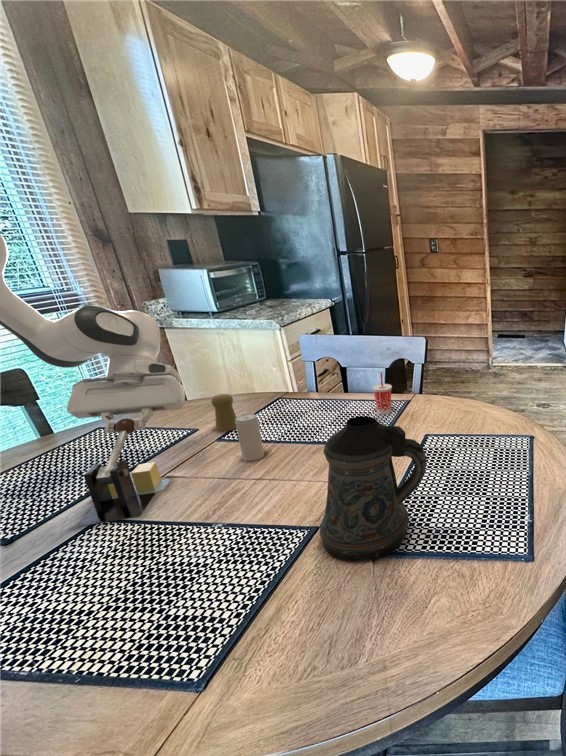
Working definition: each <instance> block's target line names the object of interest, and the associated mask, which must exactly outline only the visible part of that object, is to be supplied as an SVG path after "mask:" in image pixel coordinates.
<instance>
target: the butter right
mask: <svg viewBox="0 0 566 756" xmlns="http://www.w3.org/2000/svg"><path fill="white" fill-rule="evenodd" d="M130 475H131V479H132V482H133V484H135V487H136V490H137V493H139V492H146V491H152V490H155V489H156V488H157V486H158V485H159V484H160V482H161V480H162V478H161V475H160V471H159V467H158V464H157V461H154V462H147V463H140V464H139V463H138V464H137V466H136V467H135V468H134V469H133V471H132V472H130Z"/></svg>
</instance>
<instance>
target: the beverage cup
mask: <svg viewBox="0 0 566 756" xmlns="http://www.w3.org/2000/svg"><path fill="white" fill-rule="evenodd" d="M392 389H393V385H392V384H389V383H384V381H383V372H382V371H381V372H380V383H378V384H375V385H373V386H372V391H373V395H374V401H375V407H376V413H377V414H378V415H388V414H390V413H391V412H392Z"/></svg>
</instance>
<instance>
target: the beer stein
mask: <svg viewBox="0 0 566 756" xmlns="http://www.w3.org/2000/svg"><path fill="white" fill-rule="evenodd" d="M323 454H324V457H325V460H326V461H327V462H328V474H327V493H326V501H325V502H326V503H325V504H326V505H325V510H324V514H323V518H322V519H321V523H320V527H319V536H320V539H321V541H322V545H323V548H324V550H325V551H326V552H328V554H330V555H331V556H332V557H334V558H336V559H338V560H343V561H348V562H361V561H366V560H371V562H375V561H377V560H379V559H382V558H384V557H387V556H389V555H390V554H391V553H393V552H394V551H395V550H397V549H398V548H399V547H400V546H401V545H402V543H403V541H404V539H405V537H406V535H407V531H408V525H409V518H410V517H409V512H408V510H407V508H406V505H405V504H404V503H403V502H405V501H406V499H407V498H409V497H410V496H411V495H412V494H413V493H414V492H415V490H416V489H417V488H418V487H419V486H420V484H421V482H422V481H423V479H424V477H425V474H426V469H427V461H428V460H427V455H426V452H425V450H424V446H423V445H422V444H421V443H419V442H418V441H417V440H415V439H413V438H412V439H411V438H406V432H405V430H403V428H402V427H401V426H399V425H385V424H382V423H380V422H379V421H378V420H377V419H376V418H375V417H372V416H367V415H366V416H365V415H363V416H361V415H360V416H359V415H357V416H353V417H351V418H348V419H347V420H346V423H345V426H343V427H342V428H341V429H340V430H338V431H336V432H335V433H334V434H333V435H331V437H329V438H328V440H327V441H326V442H325V444H324V447H323ZM393 457H395V458H401V457H408V458H410V459H411V460H412V462H413V464H414V466H413V470H411V474H410V475H409V476H408V477H407V479H405V481H403V482H402V484H401V485H400V487H399V486H398V483H397V476H396V472H395V471H396V470H395V468H394V463H393Z"/></svg>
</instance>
